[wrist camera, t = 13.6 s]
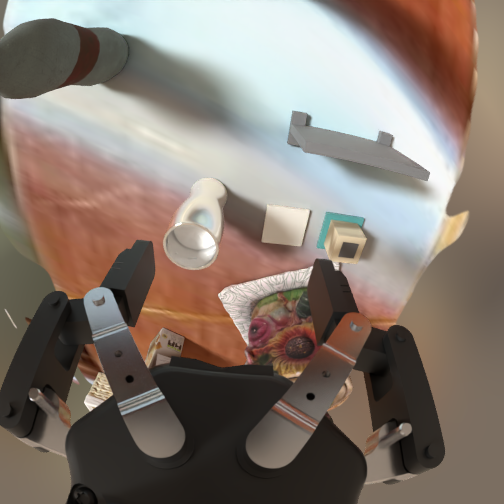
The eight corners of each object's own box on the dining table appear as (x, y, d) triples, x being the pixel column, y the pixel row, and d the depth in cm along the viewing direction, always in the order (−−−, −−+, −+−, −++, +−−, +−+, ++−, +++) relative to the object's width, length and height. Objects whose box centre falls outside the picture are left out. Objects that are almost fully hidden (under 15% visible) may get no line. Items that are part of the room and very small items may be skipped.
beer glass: (237, 184, 42) (229, 235, 30) (220, 220, 46) (208, 279, 34) (196, 168, 41) (170, 211, 28) (181, 205, 44) (155, 259, 32)
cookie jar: (349, 331, 63) (377, 452, 37) (254, 352, 68) (254, 472, 42) (338, 253, 50) (392, 417, 24) (215, 285, 55) (193, 446, 28)
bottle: (107, 21, 25) (-52, 8, 1) (144, 47, 29) (-22, 37, 5) (73, 67, 29) (-84, 107, 5) (107, 94, 33) (-56, 156, 8)
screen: (292, 110, 36) (309, 123, 25) (390, 133, 37) (434, 158, 26) (287, 142, 38) (300, 169, 28) (382, 162, 39) (422, 195, 29)
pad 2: (326, 211, 45) (327, 213, 44) (363, 217, 45) (364, 219, 45) (316, 246, 49) (317, 248, 48) (351, 250, 49) (352, 252, 49)
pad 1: (267, 204, 44) (267, 205, 44) (309, 209, 45) (309, 210, 44) (261, 240, 48) (261, 242, 48) (300, 244, 49) (301, 246, 48)
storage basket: (103, 386, 88) (93, 417, 76) (94, 367, 79) (82, 402, 67) (159, 402, 91) (153, 435, 79) (157, 385, 82) (149, 423, 70)
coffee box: (162, 326, 62) (146, 383, 49) (185, 337, 65) (174, 394, 51) (150, 342, 67) (135, 394, 54) (171, 352, 69) (160, 404, 56)
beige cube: (331, 219, 45) (338, 235, 41) (357, 223, 45) (367, 239, 41) (323, 244, 48) (329, 262, 44) (348, 247, 48) (357, 265, 44)
